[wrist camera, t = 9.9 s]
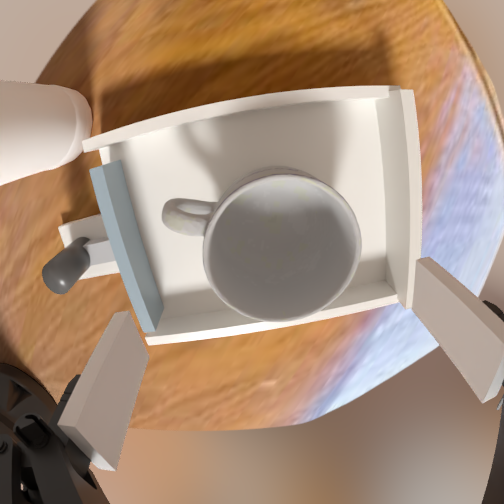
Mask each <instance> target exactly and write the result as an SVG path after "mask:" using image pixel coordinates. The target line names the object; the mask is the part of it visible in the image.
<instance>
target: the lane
mask: <svg viewBox="0 0 504 504" xmlns="http://www.w3.org/2000/svg"><path fill="white" fill-rule="evenodd" d="M82 145H83V150H84V153H85V152H89V151H94V150H98V149H99V151H100V155H101V160H102V164H103V165H105V164H108V163H111V162H114V161H117V160H121V163H122V168H123V172H124V176H125V180H126V184H127V188H128V192H129V196H130V200H131V203H132V207H133V211H134V214H135V218H136V221H137V225H138V228H139V232H140V235H141V239H142V242H143V245H144V249H145V252H146V255H147V258H148V261H149V264H150V268H151V271H152V274H153V277H154V280H155V283H156V286H157V289H158V292H159V294H160V297H161V300H162V303H163V306H164V310H163V312H162V315H161V318H160V320H159V323H158V326H157V329H156V331H154V332H147V334H146V336H145V339H146V341H147V343H148V345H157V344H167V343H176V342H185V341H194V340H202V339H209V338H217V337H224V336H231V335H238V334H245V333H251V332H257V331H264V330H270V329H275V328H281V327H287V326H292V325H298V324H303V323H308V322H313V321H318V320H323V319H328V318H333V317H338V316H343V315H347V314H352V313H356V312H361V311H365V310H369V309H374V308H378V307H382V306H386V305H390V304H394V303H398V302H400V303H401V304H402V306H403V307H404V308H405V309H409V308H412V302H413V292H414V281H415V267H416V260H417V259H421V241H422V177H421V158H420V144H419V133H418V123H417V115H416V107H415V99H414V93H413V90H402V89H401V88H400V86H346V87H329V88H316V89H305V90H295V91H287V92H278V93H271V94H264V95H257V96H251V97H245V98H239V99H233V100H228V101H223V102H217V103H212V104H208V105H203V106H198V107H194V108H190V109H185V110H181V111H177V112H173V113H169V114H165V115H162V116H158V117H154V118H151V119H147V120H144V121H140V122H137V123H134V124H130V125H127V126H124V127H121V128H118V129H115V130H112V131H109V132H106V133H103V134H100V135H97V136H94V137H92V138H89V139H86V140H84V141H82ZM269 166H287V167H292V168H296V169H299V170H302V171H304V172H307V173H309V174H311V175H312V176H314V177H316V178H317V179H319V180H320V181H322V182H324V183H325V184H327V185H329V186H331V187H332V188H333V189H335V190H336V191H337V192H338V193H339V194H340V195H341V196H343V197H344V199H345V200H346V201H347V203H348V204H349V206H350V207H351V209H352V210H353V212H354V214H355V216H356V219H357V222H358V224H359V228H360V231H361V239H362V249H361V256H360V261H359V264H358V267H357V270H356V272H355V274H354V276H353V279H352V281H351V282H350V283H349V285H348V286H347V287H346V289H345V290H344V291H343V293H342V294H341V295H340V296H338V297H337V298H336V299H335V300H334V301H333V302H332V303H331V304H329V305H328V306H327V307H325V308H324V309H322V310H321V311H319V312H317V313H315V314H313V315H311V316H308V317H305V318H303V319H298V320H295V321H288V322H264V321H260V320H256V319H252V318H249V317H246V316H244V315H242V314H240V313H238V312H237V311H235V310H233V309H232V308H230V307H229V306H228V305H226V304H225V303H224V302H223V301H222V300H221V299H220V298H219V297H218V296H217V294H216V293H215V292H214V290H213V289H212V287H211V285H210V283H209V281H208V279H207V276H206V273H205V271H204V266H203V241H204V236H188V235H183V234H180V233H177V232H174V231H172V230H170V229H168V228H167V227H166V226H165V225H164V224H163V222H162V209H163V207H164V204H165V203H166V202H167V201H168V200H170V199H174V198H186V199H195V200H201V201H207V202H218V201H219V199H220V198H221V196H222V195H223V193H224V192H225V191H226V189H227V188H228V187H229V186H230V185H231V184H232V183H233V182H235V181H236V180H237V179H238V178H240V177H241V176H243V175H245V174H246V173H249V172H251V171H253V170H256V169H259V168H263V167H269ZM58 228H59V231H60V234H61V237H62V240H63V243H64V246H65V248H66V247H67V246H68V245H69V244H71V243H72V242H73V241H74V240H76V239H77V238H79V237H86V238H89V239H90V240H94V239H98V238H102V237H107V236H108V235H107V232H106V229H105V226H104V222H103V219H102V216H101V214H97V215H93V216H90V217H86V218H82V219H79V220H75V221H72V222H68V223H65V224H62V225H61V226H59V227H58ZM119 272H120V271H119V268H118V265H117V262H116V261H112V262H107V263H102V264H97V265H91V266H90V267H89V268H88V270H87V271H86V272H85V273H84V274H83V275H82V276H81V277H80V278H79V279H85V278H91V277H96V276H102V275H107V274H113V273H119ZM79 279H78V280H79Z"/></svg>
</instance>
